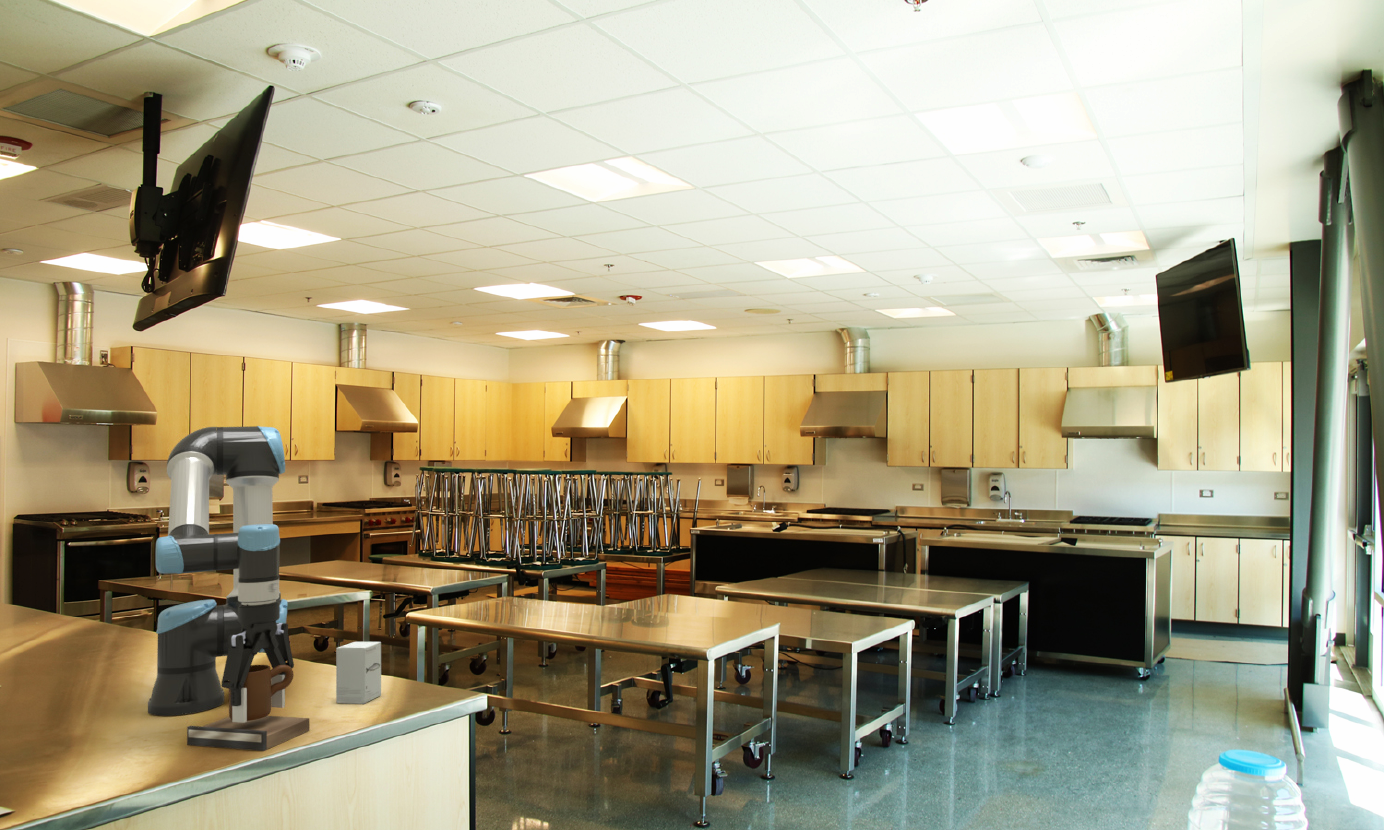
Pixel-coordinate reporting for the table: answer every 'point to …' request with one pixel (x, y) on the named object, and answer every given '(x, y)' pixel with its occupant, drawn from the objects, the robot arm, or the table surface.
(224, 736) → the wooden slab
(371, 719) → the table surface
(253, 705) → the mug
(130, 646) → the table surface
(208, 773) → the table surface
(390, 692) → the table surface
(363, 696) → the supplement box
